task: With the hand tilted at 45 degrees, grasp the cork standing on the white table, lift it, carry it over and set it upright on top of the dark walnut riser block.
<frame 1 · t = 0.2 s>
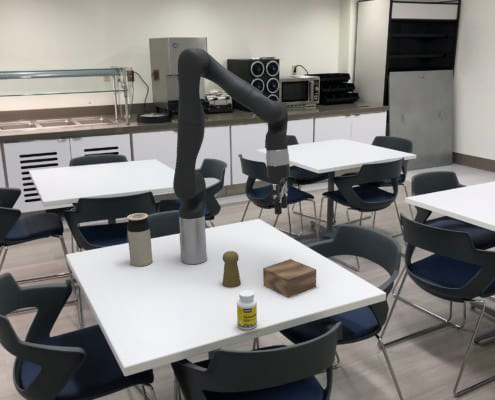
hand: (281, 211, 171), 22 cm above the table, tool pointing down, fingers open, 8 cm apart
walnut riser: (289, 286, 165), on the table
cork: (231, 284, 168), on the table
travel mug: (141, 263, 188), on the table
supplement bottle: (247, 326, 142), on the table
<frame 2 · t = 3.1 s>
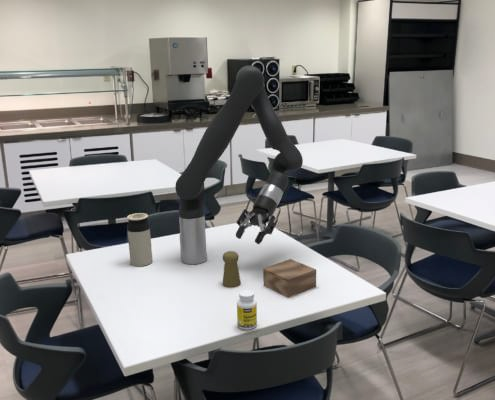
hand: (247, 240, 171), 13 cm above the table, tool tilted 45°, fingers open, 8 cm apart
nothing on the table moved.
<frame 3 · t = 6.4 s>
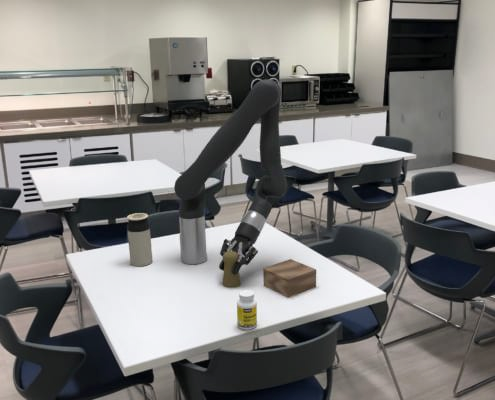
hand: (227, 271, 166), 5 cm above the table, tool tilted 45°, fingers closed on cork, 5 cm apart
cork: (231, 284, 168), on the table, touching gripper
everything else where it was.
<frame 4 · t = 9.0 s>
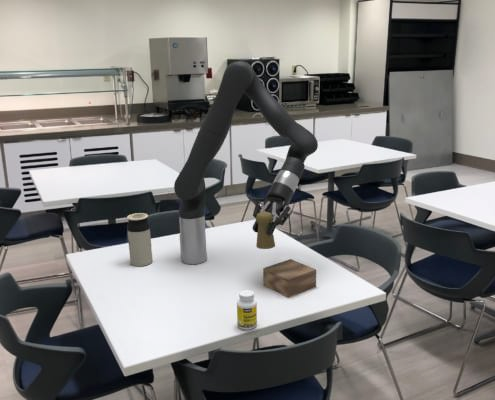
hand: (261, 232, 160), 19 cm above the table, tool tilted 45°, fingers closed on cork, 5 cm apart
cork: (265, 246, 163), point 13 cm above the table, touching gripper
everything else where it was.
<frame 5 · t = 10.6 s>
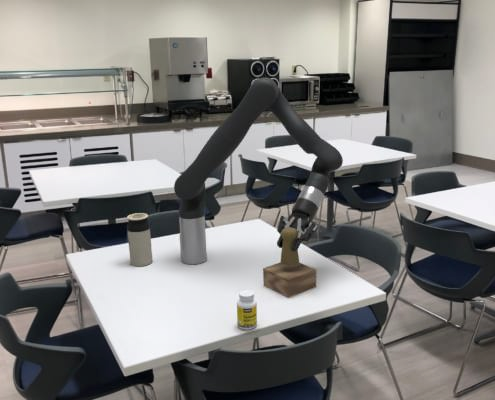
hand: (286, 248, 161), 13 cm above the table, tool tilted 45°, fingers closed on cork, 5 cm apart
cork: (289, 261, 163), point 8 cm above the table, touching gripper
everything else where it was.
when the fingers open (12 cm above the table, at t = 11.8 s): cork drops 1 cm, resting on walnut riser.
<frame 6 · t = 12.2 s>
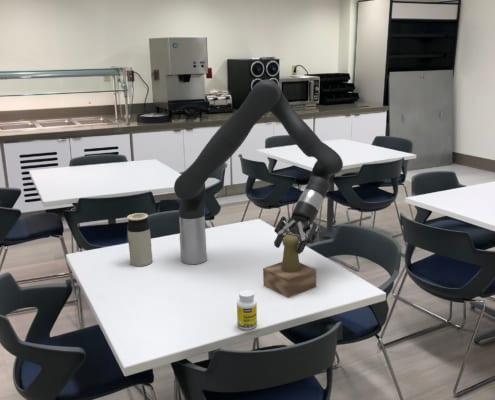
hand: (286, 249, 161), 13 cm above the table, tool tilted 45°, fingers open, 8 cm apart
cork: (290, 269, 164), point 6 cm above the table, touching walnut riser
everything else where it was.
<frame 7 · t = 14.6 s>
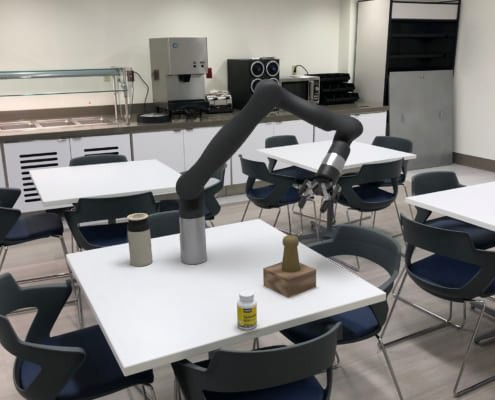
hand: (310, 209, 168), 23 cm above the table, tool tilted 45°, fingers open, 8 cm apart
nothing on the table moved.
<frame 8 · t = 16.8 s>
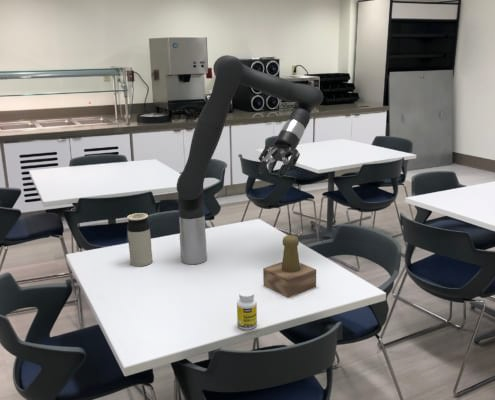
hand: (269, 174, 172), 34 cm above the table, tool tilted 45°, fingers open, 8 cm apart
nothing on the table moved.
at the end: cork inside the target area on the walnut riser (0.4 cm from its centre), point 5.8 cm above the walnut riser's base; cork tilted 0°; the gripper is holding nothing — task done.
